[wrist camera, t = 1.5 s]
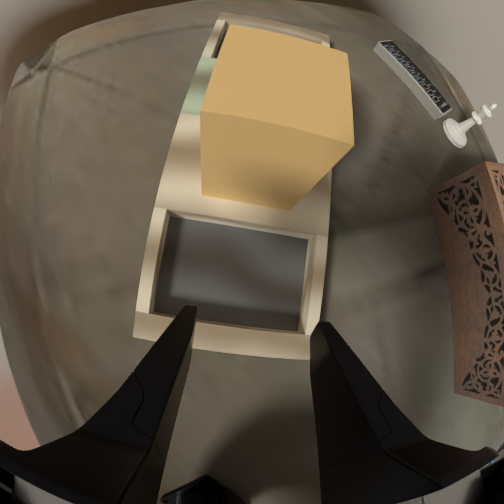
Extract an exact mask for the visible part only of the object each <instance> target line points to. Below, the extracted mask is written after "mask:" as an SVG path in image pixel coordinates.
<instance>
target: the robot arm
mask: <svg viewBox="0 0 504 504" xmlns="http://www.w3.org/2000/svg"><path fill="white" fill-rule="evenodd" d="M196 317H197V306H196V305H191V304H186V305H184V307H183V308H182V309H181V310H180V312H179V313H178V314H177V316H176V317H175V318H174V319H173V321H172V322H171V323H170V324H169V326H168V327H167V328H166V330H165V331H164V332H163V333H162V335H161V336H160V337H159V339H158V340H157V341H156V342H155V344H154V345H153V346H152V348H151V349H150V350H149V351H148V353H147V354H146V355H145V357H144V358H143V359H142V360H141V362H140V363H139V364H138V366H137V367H136V368H135V370H134V372H132V373H131V375H130V376H129V377H128V379H127V380H126V381H125V382H124V384H123V385H122V386H121V387H120V388H119V390H118V391H117V392H116V393H115V394H114V395H113V396H112V397H111V398H110V399H109V400H108V401H107V402H106V403H105V404H104V405H103V406H102V407H101V408H100V409H99V410H98V411H97V412H96V413H95V414H94V415H93V416H92V417H91V418H90V419H89V420H88V421H87V422H86V423H85V424H84V425H83V426H81V427H80V428H79V429H78V430H76V431H75V432H73V433H71V434H69V435H66V436H64V437H62V438H59V439H57V440H55V441H52V442H50V443H48V444H45V445H43V446H40V447H38V448H35V449H32V450H27V451H22V450H17V449H15V448H13V447H11V446H9V445H8V444H6V443H5V442H3V441H1V440H0V504H156V503H157V498H158V493H159V489H160V484H161V480H162V476H163V471H164V465H165V462H166V458H167V454H168V450H169V445H170V441H171V437H172V433H173V429H174V425H175V421H176V417H177V413H178V409H179V405H180V401H181V397H182V393H183V390H184V386H185V382H186V378H187V374H188V371H189V366H190V361H191V354H192V347H193V340H194V333H195V325H196ZM310 378H311V388H312V396H313V405H314V415H315V425H316V435H317V446H318V458H319V470H320V486H321V502H322V504H504V457H502V458H501V459H499V460H497V461H495V462H494V463H492V464H490V465H488V466H486V467H484V468H482V467H483V466H485V465H486V464H488V463H489V462H491V461H492V460H494V459H495V458H497V457H498V456H499V454H498V452H496V451H495V450H494V449H492V448H489V447H484V448H483V449H481V450H478V451H469V450H465V449H461V448H457V447H454V446H450V445H446V444H443V443H440V442H436V441H433V440H431V439H429V438H427V437H426V436H425V435H423V434H422V433H421V432H420V431H419V430H418V429H417V428H416V427H415V426H414V425H413V423H412V422H411V421H410V420H409V419H408V418H407V417H406V416H405V415H404V414H403V413H402V412H401V411H400V410H399V408H398V407H397V406H396V405H395V404H394V403H393V401H392V400H391V399H390V398H389V396H388V395H387V394H386V393H385V391H384V390H382V388H381V386H380V385H379V384H378V382H377V381H376V380H375V379H374V377H373V376H372V375H371V373H370V372H369V371H368V370H367V368H366V367H365V366H364V365H363V363H362V362H361V361H360V359H359V358H358V357H357V356H356V354H355V353H354V352H353V351H352V349H351V348H350V347H349V346H348V344H347V343H346V342H345V341H344V339H343V338H342V337H341V336H340V334H339V333H338V332H337V330H336V329H335V328H334V327H333V325H332V324H331V323H330V322H326V321H319V322H318V323H317V325H316V326H315V328H314V330H313V332H312V333H311V336H310ZM480 468H482V469H480ZM205 480H209V481H205ZM165 500H167V501H165ZM161 502H162V503H163V504H245V503H244V502H242V500H241V498H239V497H238V496H237V495H235V494H234V493H233V492H231V491H230V490H229V489H227V488H226V487H222V486H221V485H220V484H218V483H217V482H216V481H215V480H214V479H212V478H211V477H209V476H204V477H202V478H200V479H198V480H196V481H194V482H192V483H190V484H188V485H186V486H184V487H182V488H180V489H178V490H176V491H174V492H171V493H169V494H167V495H165V496H163V497H161Z"/></svg>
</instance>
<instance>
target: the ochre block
mask: <svg viewBox="0 0 504 504" xmlns="http://www.w3.org/2000/svg"><path fill="white" fill-rule="evenodd" d="M353 146H354V127H353V109H352V95H351V84H350V74H349V65H348V56H347V53H345V52H342V51H339V50H336V49H333V48H330V47H327V46H324V45H321V44H318V43H314V42H311V41H307V40H304V39H300V38H296V37H292V36H289V35H284V34H280V33H276V32H271V31H266V30H261V29H256V28H250V27H244V26H238V25H231V24H230V25H229V28H228V30H227V33H226V36H225V38H224V41H223V44H222V46H221V49H220V52H219V55H218V57H217V60H216V63H215V66H214V69H213V72H212V75H211V78H210V81H209V84H208V87H207V90H206V93H205V97H204V100H203V103H202V106H201V110H200V150H201V189H202V196H208V197H214V198H220V199H226V200H232V201H238V202H243V203H249V204H255V205H260V206H265V207H271V208H276V209H281V210H286V211H290V210H291V209H292V208H293V207H294V206H295V205H296V204H297V203H298V202H299V201H300V200H301V199H302V198H303V197H304V196H305V195H306V194H307V193H308V192H309V191H310V190H311V189H312V188H313V187H314V186H315V185H316V184H317V183H318V181H319V180H320V179H321V178H322V177H323V176H324V175H325V174H326V173H327V172H328V171H329V170H330V169H331V168H332V167H333V166H334V165H335V164H336V163H337V162H338V161H339V160H340V159H341V158H342V157H343V156H344V155H345V154H346V153H347V152H348V151H349V150H350V149H351V148H352V147H353Z"/></svg>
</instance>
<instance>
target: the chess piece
mask: <svg viewBox="0 0 504 504" xmlns="http://www.w3.org/2000/svg"><path fill="white" fill-rule="evenodd" d="M495 107H497V104H496V103H495V104H493V105H492V106H491V107H489V108H488V107H487V106H486V105H482V107H481V109H480V110H479V112H478V113H477V112H475V111H474V112H472V116H473V117H471V118H469V119H467V120H465V121H463V122H461V123H457V122H456V121H455V120H453V119H451V118H448V119H446V120H444V122H443V128H444V131H445V133H446V135H447V137H448V139H449V140H450V141H451V142H452V144H454V145H455V146H456V147H458V148H463V147H464V146H465V145H466V142H467V140H466V135H465V133H466V132H467V131H468V130H469V129H470V128H471V127H472V126H473V125H474V124H475V123H476V122H477V123H478V124H479V125H481V124H482V119H485V118H491V117H492V114H491V110H492V109H494V108H495Z"/></svg>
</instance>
